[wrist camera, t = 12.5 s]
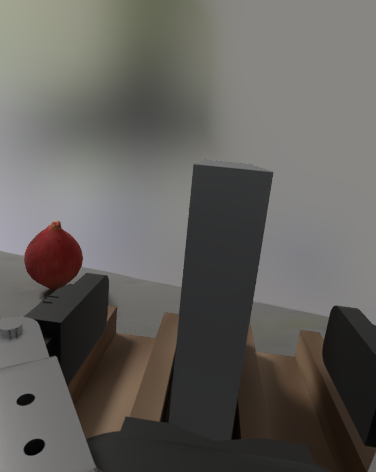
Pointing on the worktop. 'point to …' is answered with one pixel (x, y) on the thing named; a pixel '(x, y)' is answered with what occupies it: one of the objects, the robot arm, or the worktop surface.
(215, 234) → the panel
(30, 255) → the onion
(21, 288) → the worktop surface
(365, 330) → the robot arm
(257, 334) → the worktop surface
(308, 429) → the rack
